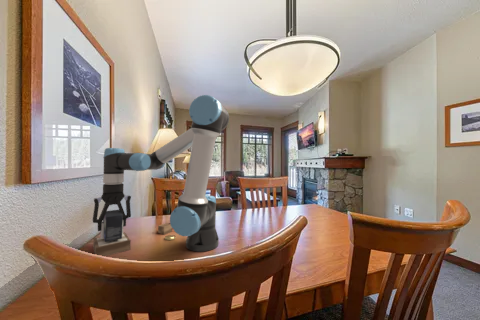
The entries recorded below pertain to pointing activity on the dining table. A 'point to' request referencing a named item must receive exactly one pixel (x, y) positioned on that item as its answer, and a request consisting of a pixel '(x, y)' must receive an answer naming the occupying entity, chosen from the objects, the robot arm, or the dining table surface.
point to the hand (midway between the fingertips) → (112, 235)
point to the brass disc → (170, 237)
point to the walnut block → (164, 228)
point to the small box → (112, 225)
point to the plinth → (111, 245)
